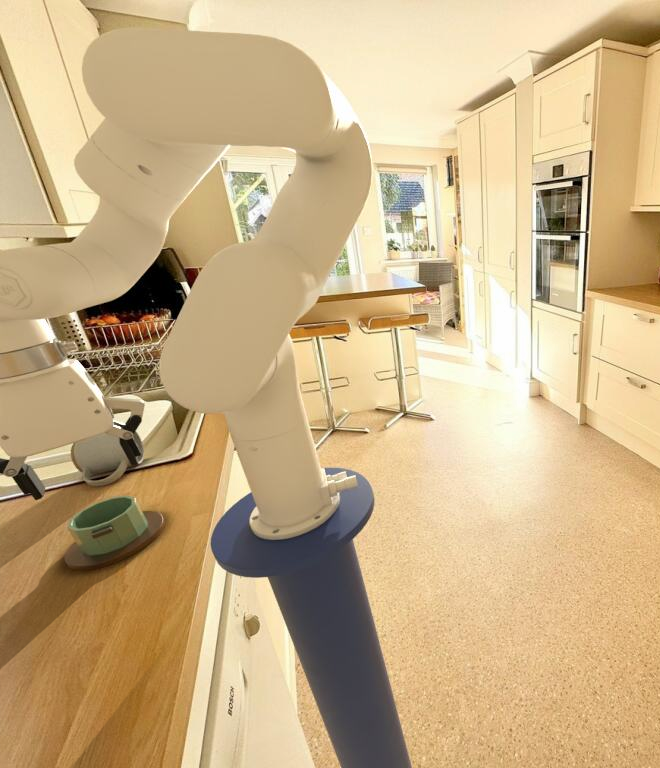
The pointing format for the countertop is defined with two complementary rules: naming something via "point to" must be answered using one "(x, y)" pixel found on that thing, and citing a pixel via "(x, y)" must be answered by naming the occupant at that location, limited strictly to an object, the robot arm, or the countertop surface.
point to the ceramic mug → (102, 457)
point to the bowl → (107, 525)
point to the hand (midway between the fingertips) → (90, 477)
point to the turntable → (87, 562)
